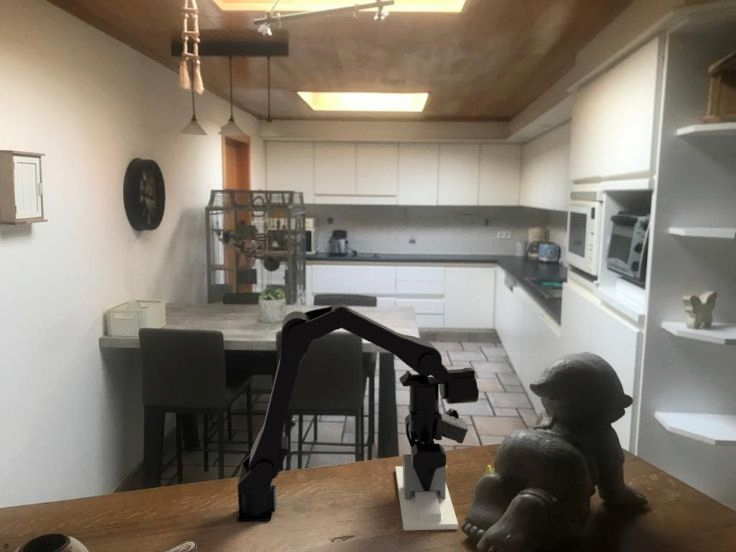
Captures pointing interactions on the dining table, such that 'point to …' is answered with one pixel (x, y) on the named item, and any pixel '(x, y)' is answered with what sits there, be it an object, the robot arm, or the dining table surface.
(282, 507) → the dining table surface
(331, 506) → the dining table surface
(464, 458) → the dining table surface
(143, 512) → the dining table surface
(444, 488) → the din module
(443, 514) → the rail plate
